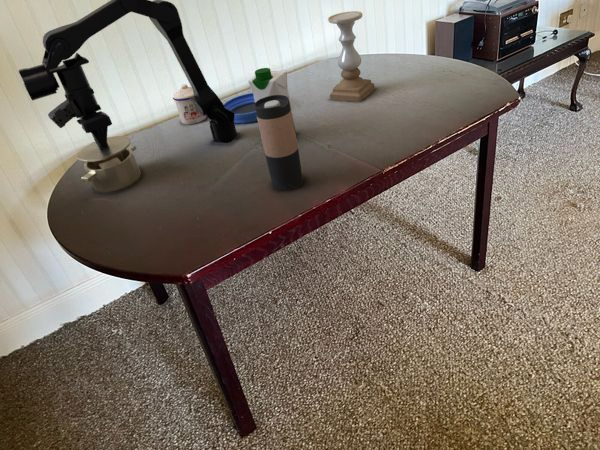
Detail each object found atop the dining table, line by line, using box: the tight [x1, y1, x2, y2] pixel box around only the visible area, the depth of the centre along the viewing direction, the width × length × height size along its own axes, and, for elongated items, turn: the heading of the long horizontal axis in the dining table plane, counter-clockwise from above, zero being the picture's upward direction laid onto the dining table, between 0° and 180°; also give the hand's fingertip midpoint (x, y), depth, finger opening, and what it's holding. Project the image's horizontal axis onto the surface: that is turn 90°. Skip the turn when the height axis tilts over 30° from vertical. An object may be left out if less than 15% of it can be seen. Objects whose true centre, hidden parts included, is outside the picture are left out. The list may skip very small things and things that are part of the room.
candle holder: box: [327, 10, 376, 103], centre depth 143 cm, size 11×11×24 cm
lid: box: [76, 134, 131, 163], centre depth 118 cm, size 13×13×6 cm
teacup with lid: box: [172, 83, 207, 125], centre depth 151 cm, size 12×9×12 cm
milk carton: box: [248, 67, 297, 135], centre depth 125 cm, size 9×9×20 cm
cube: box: [99, 158, 121, 169], centre depth 123 cm, size 5×5×5 cm
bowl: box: [223, 92, 258, 124], centre depth 150 cm, size 18×18×4 cm
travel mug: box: [255, 95, 304, 191], centre depth 104 cm, size 8×8×20 cm
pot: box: [81, 144, 142, 193], centre depth 123 cm, size 12×18×7 cm
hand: (103, 146), depth 119 cm, fingers closed on lid, 3 cm apart
